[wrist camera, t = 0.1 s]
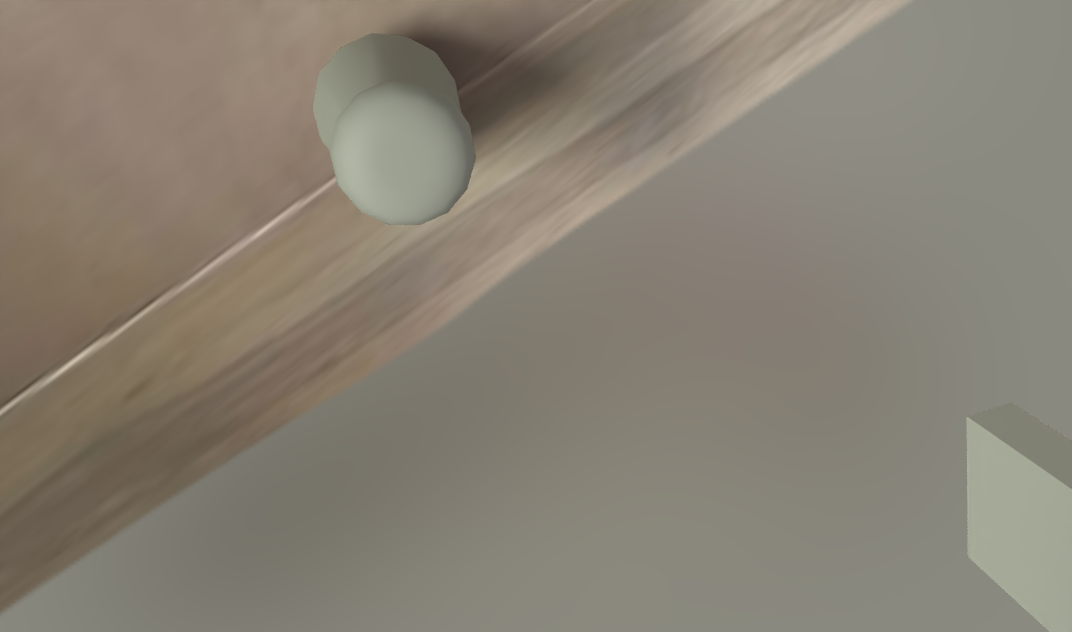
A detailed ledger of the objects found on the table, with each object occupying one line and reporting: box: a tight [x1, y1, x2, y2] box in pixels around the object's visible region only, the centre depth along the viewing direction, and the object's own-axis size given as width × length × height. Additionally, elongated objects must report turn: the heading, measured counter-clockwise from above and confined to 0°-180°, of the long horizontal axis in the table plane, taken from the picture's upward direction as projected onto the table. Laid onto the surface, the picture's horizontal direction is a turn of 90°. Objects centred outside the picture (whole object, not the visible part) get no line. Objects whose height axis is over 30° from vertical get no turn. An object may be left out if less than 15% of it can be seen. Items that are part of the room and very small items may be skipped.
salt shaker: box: [313, 33, 476, 225], centre depth 31 cm, size 6×6×13 cm
